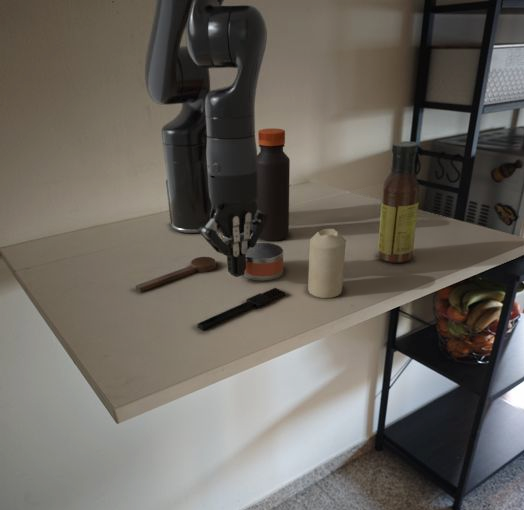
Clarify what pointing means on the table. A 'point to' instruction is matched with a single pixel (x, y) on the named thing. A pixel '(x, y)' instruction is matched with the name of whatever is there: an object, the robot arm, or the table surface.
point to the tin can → (264, 262)
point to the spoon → (180, 273)
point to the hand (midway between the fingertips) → (237, 274)
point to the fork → (243, 307)
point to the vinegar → (273, 184)
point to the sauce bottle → (399, 205)
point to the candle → (326, 263)
